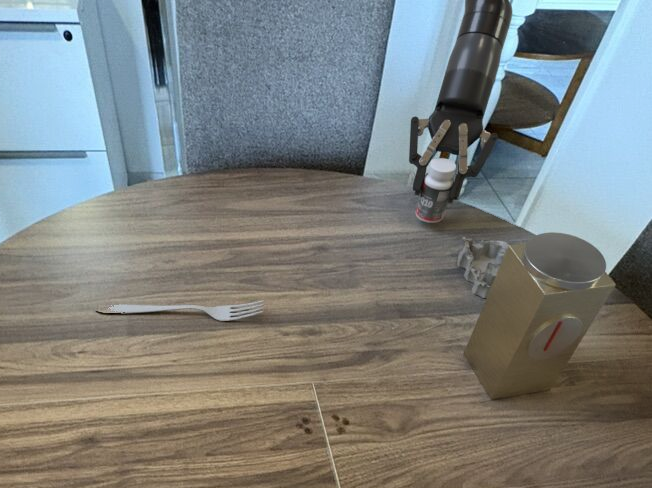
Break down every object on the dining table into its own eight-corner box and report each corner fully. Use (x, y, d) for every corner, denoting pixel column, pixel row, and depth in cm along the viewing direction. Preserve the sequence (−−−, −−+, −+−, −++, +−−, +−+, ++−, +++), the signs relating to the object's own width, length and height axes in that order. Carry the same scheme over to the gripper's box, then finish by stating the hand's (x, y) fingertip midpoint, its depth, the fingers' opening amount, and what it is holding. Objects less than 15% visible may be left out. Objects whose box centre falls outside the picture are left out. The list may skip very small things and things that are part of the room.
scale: (520, 343, 88) (580, 228, 73) (553, 392, 83) (624, 279, 68) (462, 352, 86) (510, 236, 71) (491, 402, 82) (550, 289, 66)
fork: (96, 302, 88) (93, 291, 87) (263, 308, 89) (264, 298, 88) (92, 317, 87) (90, 306, 85) (263, 323, 88) (264, 313, 86)
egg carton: (451, 256, 98) (459, 233, 95) (496, 255, 99) (506, 231, 96) (472, 300, 93) (481, 277, 89) (519, 298, 93) (530, 275, 90)
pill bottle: (409, 211, 102) (421, 160, 95) (432, 204, 103) (446, 153, 96) (425, 226, 100) (439, 175, 93) (449, 219, 101) (464, 168, 94)
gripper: (423, 57, 91) (389, 180, 95) (521, 76, 89) (481, 200, 93) (421, 82, 98) (390, 195, 102) (511, 99, 96) (475, 214, 100)
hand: (433, 197), depth 97 cm, fingers closed on pill bottle, 4 cm apart
